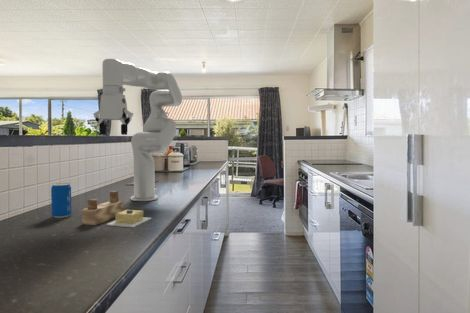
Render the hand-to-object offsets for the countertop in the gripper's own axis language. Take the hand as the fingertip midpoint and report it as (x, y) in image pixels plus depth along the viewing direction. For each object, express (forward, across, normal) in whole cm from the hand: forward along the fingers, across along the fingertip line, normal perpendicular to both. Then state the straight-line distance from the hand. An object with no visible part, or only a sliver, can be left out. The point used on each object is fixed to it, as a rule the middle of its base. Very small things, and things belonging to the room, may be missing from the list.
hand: (113, 134), depth 134 cm
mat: (+30, -17, +16) cm, 38 cm away
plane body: (+30, -6, +15) cm, 34 cm away
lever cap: (+30, -17, +16) cm, 38 cm away
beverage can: (+31, +11, +16) cm, 36 cm away
